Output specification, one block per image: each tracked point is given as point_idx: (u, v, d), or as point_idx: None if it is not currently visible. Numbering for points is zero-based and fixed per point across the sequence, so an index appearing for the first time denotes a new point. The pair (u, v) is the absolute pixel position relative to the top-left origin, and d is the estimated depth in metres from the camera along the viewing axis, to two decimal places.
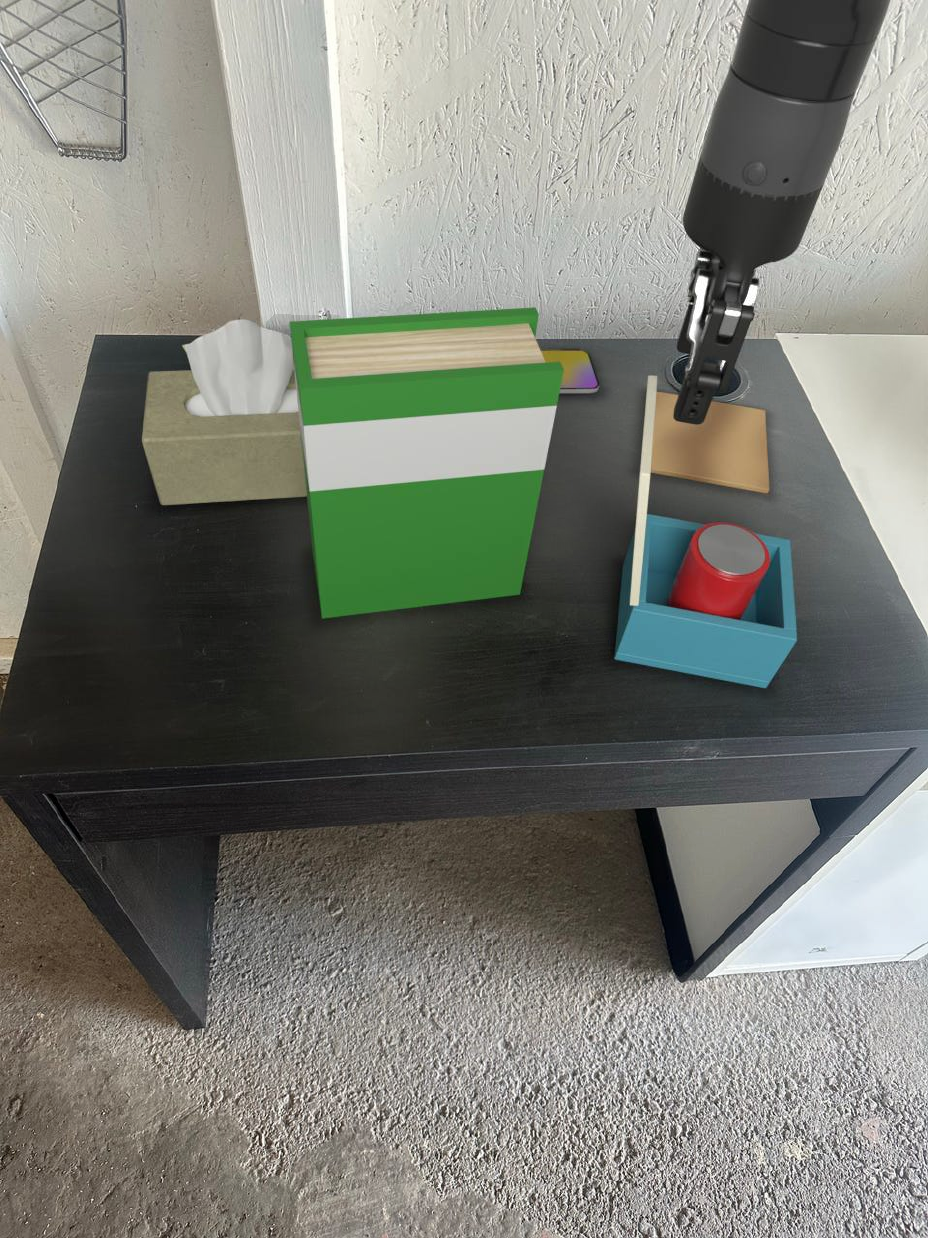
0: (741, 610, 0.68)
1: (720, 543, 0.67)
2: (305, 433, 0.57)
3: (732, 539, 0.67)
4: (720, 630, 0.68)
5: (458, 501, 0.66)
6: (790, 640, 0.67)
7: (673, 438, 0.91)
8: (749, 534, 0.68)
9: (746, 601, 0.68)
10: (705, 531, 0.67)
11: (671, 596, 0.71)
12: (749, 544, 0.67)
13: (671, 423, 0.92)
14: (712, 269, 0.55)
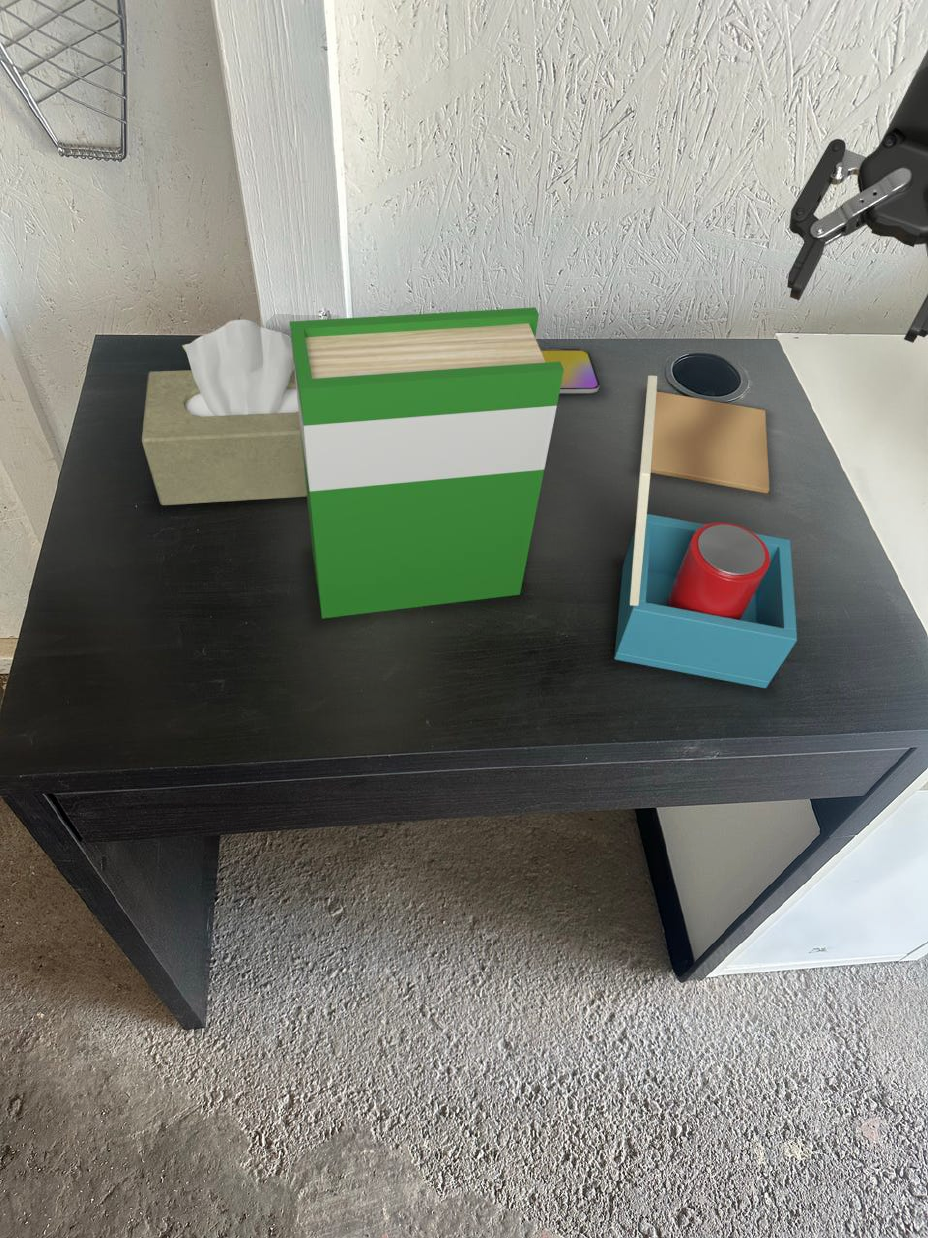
0: (741, 610, 0.68)
1: (720, 543, 0.67)
2: (305, 433, 0.57)
3: (732, 539, 0.67)
4: (720, 630, 0.68)
5: (458, 501, 0.66)
6: (790, 640, 0.67)
7: (673, 438, 0.91)
8: (749, 534, 0.68)
9: (746, 601, 0.68)
10: (705, 531, 0.67)
11: (671, 596, 0.71)
12: (749, 544, 0.67)
13: (671, 423, 0.92)
14: None
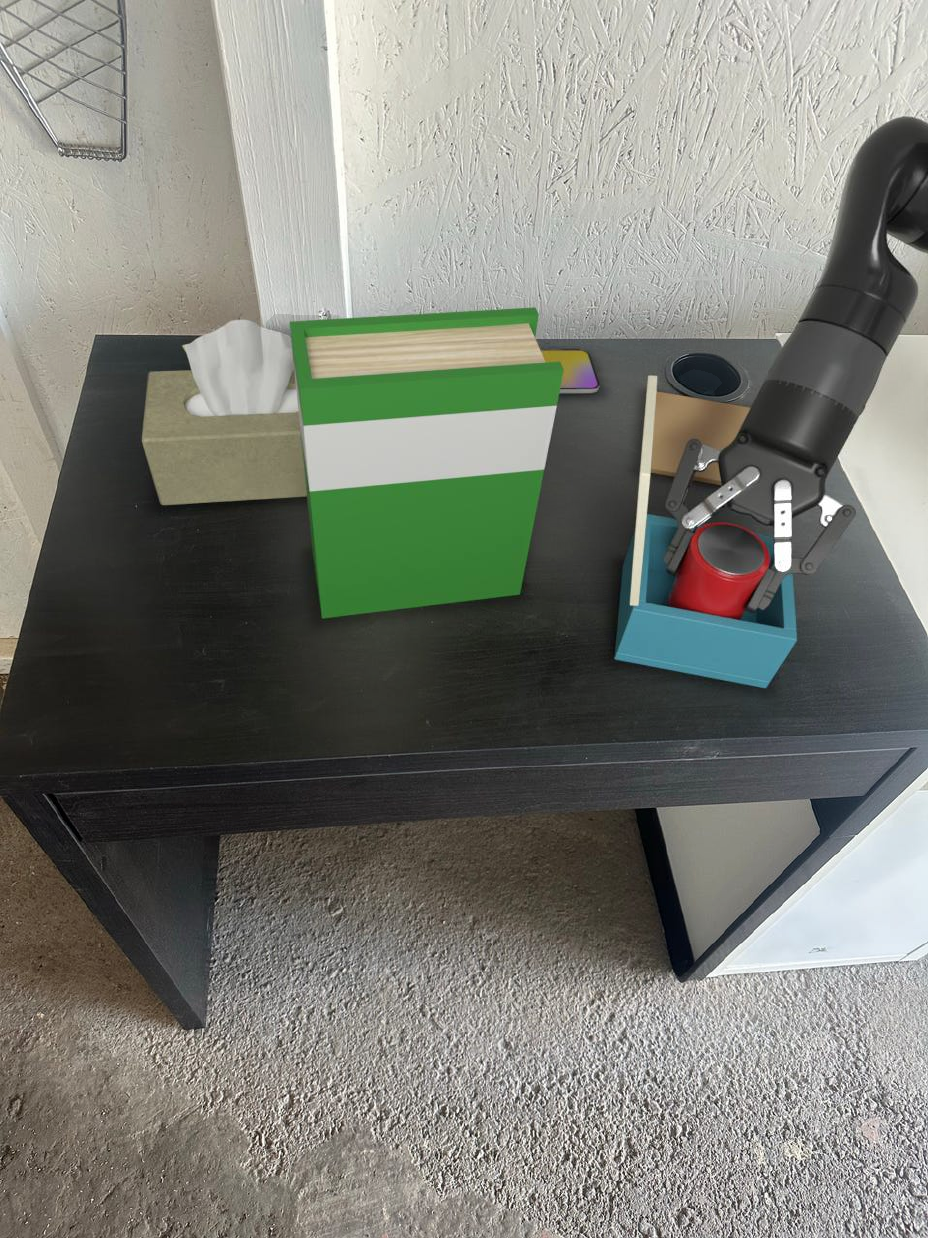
0: (741, 610, 0.68)
1: (719, 542, 0.67)
2: (305, 433, 0.57)
3: (732, 539, 0.67)
4: (720, 630, 0.68)
5: (458, 501, 0.66)
6: (790, 640, 0.67)
7: (673, 438, 0.91)
8: (749, 534, 0.67)
9: (746, 601, 0.68)
10: (705, 531, 0.67)
11: (671, 596, 0.71)
12: (749, 544, 0.67)
13: (671, 423, 0.92)
14: None
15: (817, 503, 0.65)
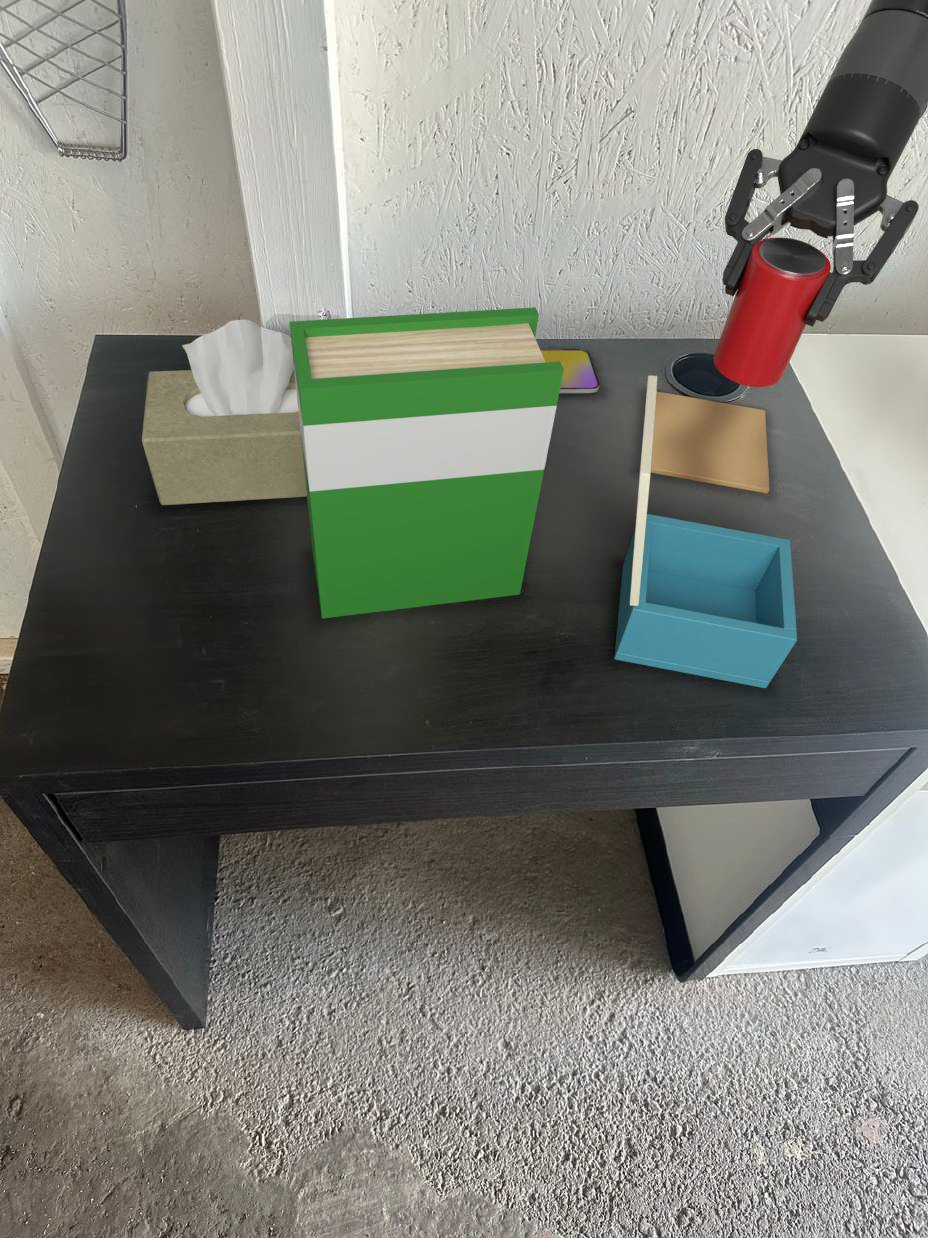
0: (800, 325, 0.69)
1: (780, 250, 0.67)
2: (305, 433, 0.57)
3: (793, 248, 0.67)
4: (720, 630, 0.68)
5: (458, 501, 0.66)
6: (790, 640, 0.67)
7: (673, 438, 0.91)
8: (809, 245, 0.68)
9: (806, 312, 0.68)
10: (765, 241, 0.68)
11: (728, 321, 0.72)
12: (810, 252, 0.67)
13: (671, 423, 0.92)
14: None
15: (879, 203, 0.65)
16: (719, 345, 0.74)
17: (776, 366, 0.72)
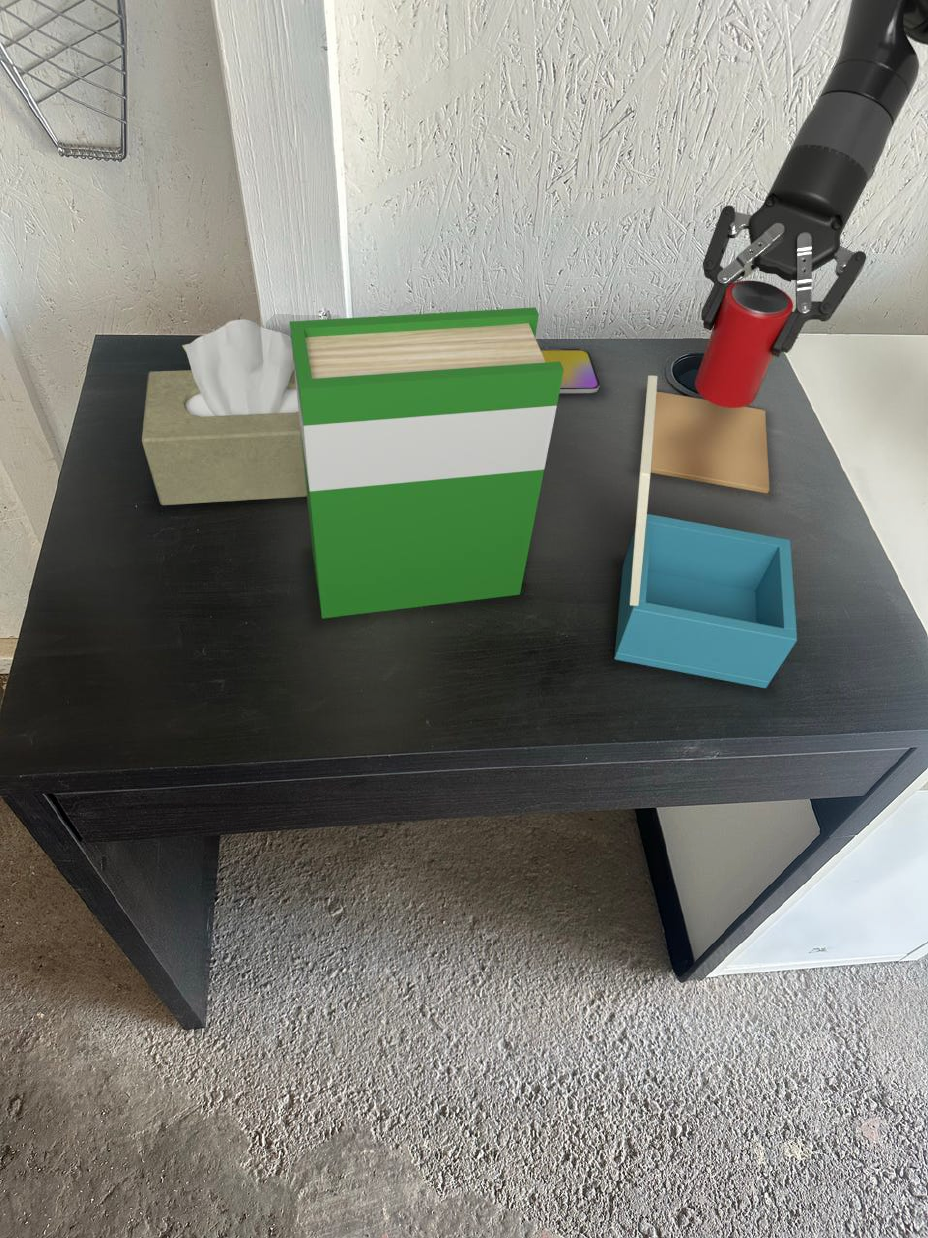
0: (768, 355, 0.80)
1: (750, 292, 0.78)
2: (305, 433, 0.57)
3: (760, 290, 0.79)
4: (720, 630, 0.68)
5: (458, 501, 0.66)
6: (790, 640, 0.67)
7: (673, 438, 0.91)
8: (775, 287, 0.79)
9: (772, 344, 0.79)
10: (737, 284, 0.79)
11: (707, 351, 0.83)
12: (775, 294, 0.78)
13: (671, 423, 0.92)
14: None
15: (833, 253, 0.77)
16: (699, 371, 0.85)
17: (748, 390, 0.83)
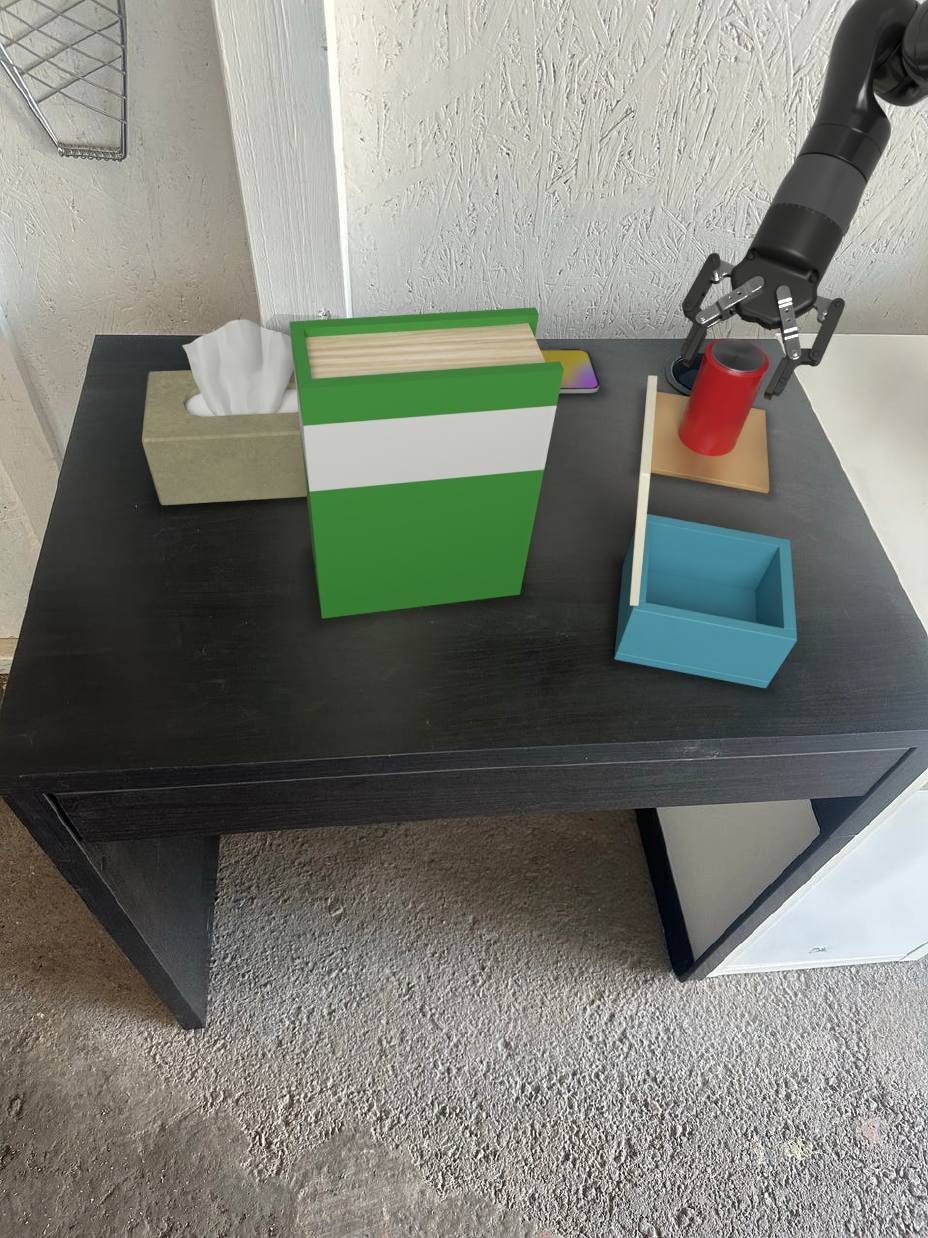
0: (745, 409, 0.85)
1: (728, 350, 0.83)
2: (305, 433, 0.57)
3: (738, 348, 0.84)
4: (720, 630, 0.68)
5: (458, 501, 0.66)
6: (790, 640, 0.67)
7: (673, 438, 0.91)
8: (752, 345, 0.84)
9: (750, 399, 0.84)
10: (717, 343, 0.84)
11: (689, 403, 0.88)
12: (752, 352, 0.83)
13: (671, 423, 0.92)
14: None
15: (811, 305, 0.81)
16: (682, 421, 0.90)
17: (728, 440, 0.88)
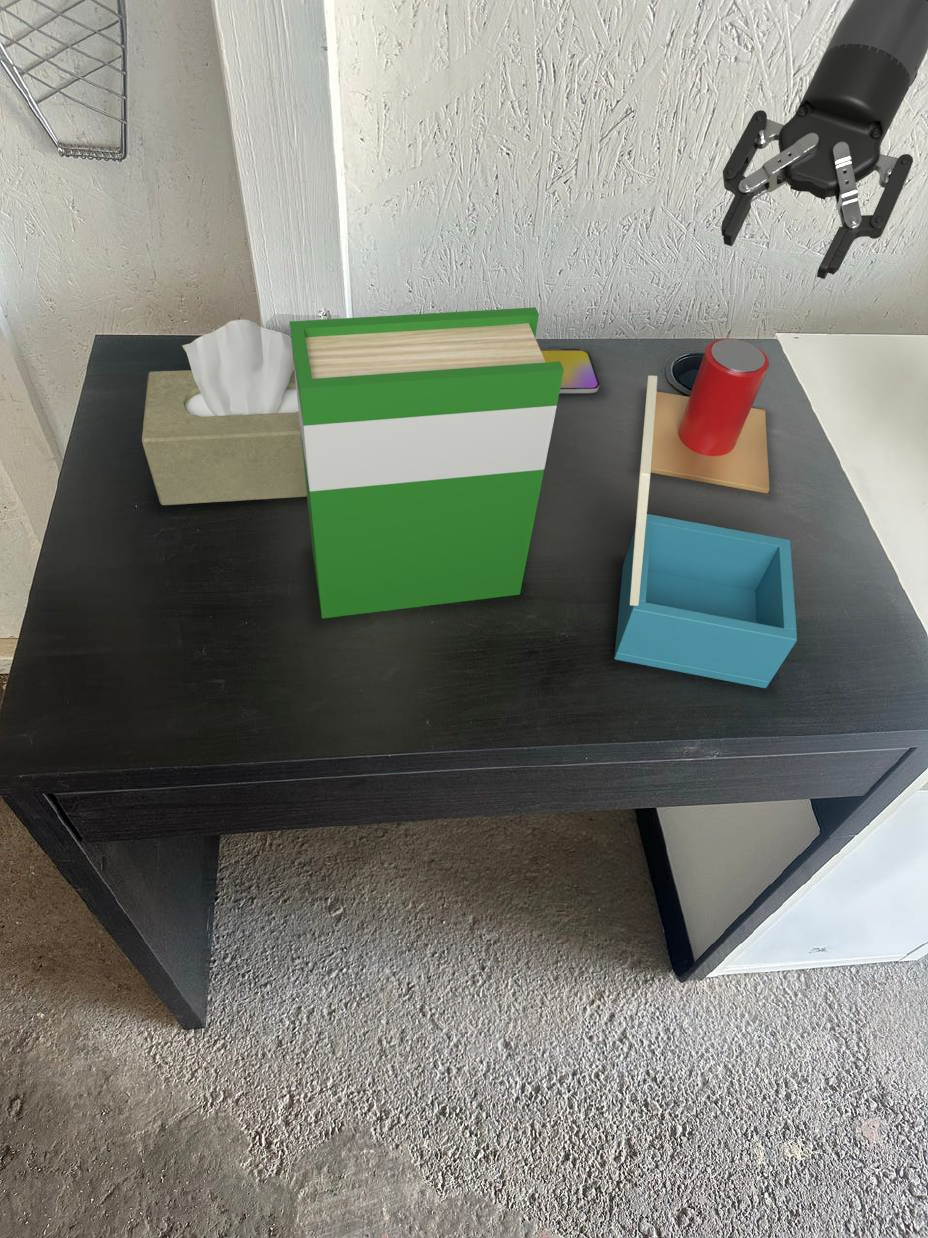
0: (745, 409, 0.85)
1: (728, 350, 0.83)
2: (305, 433, 0.57)
3: (738, 348, 0.84)
4: (720, 630, 0.68)
5: (458, 501, 0.66)
6: (790, 640, 0.67)
7: (673, 438, 0.91)
8: (752, 345, 0.84)
9: (750, 399, 0.84)
10: (717, 343, 0.84)
11: (689, 403, 0.88)
12: (752, 352, 0.83)
13: (671, 423, 0.92)
14: None
15: (872, 165, 0.70)
16: (682, 421, 0.90)
17: (728, 440, 0.88)
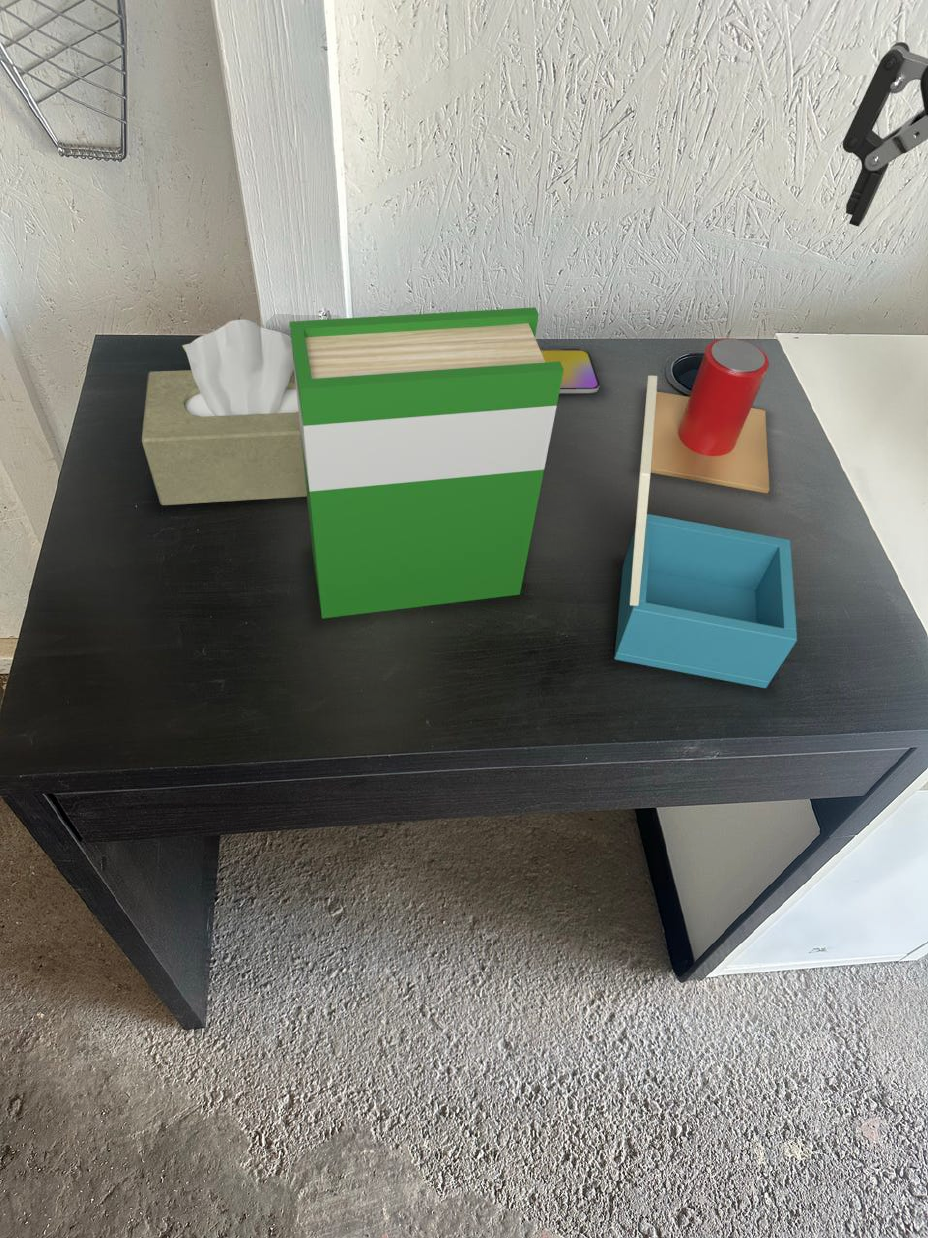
0: (745, 409, 0.85)
1: (728, 350, 0.83)
2: (305, 433, 0.57)
3: (738, 348, 0.84)
4: (720, 630, 0.68)
5: (458, 501, 0.66)
6: (790, 640, 0.67)
7: (673, 438, 0.91)
8: (752, 345, 0.84)
9: (750, 399, 0.84)
10: (717, 343, 0.84)
11: (689, 403, 0.88)
12: (752, 352, 0.83)
13: (671, 423, 0.92)
14: None
15: None
16: (682, 421, 0.90)
17: (728, 440, 0.88)
